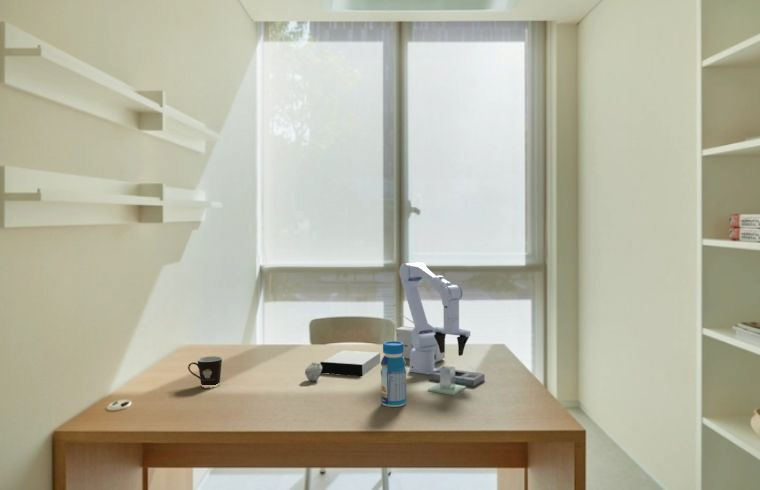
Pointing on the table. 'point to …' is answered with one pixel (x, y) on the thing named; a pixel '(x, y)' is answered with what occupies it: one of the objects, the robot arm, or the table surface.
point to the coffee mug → (208, 370)
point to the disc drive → (350, 363)
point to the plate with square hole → (460, 377)
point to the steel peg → (447, 377)
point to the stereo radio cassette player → (406, 339)
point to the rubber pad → (447, 391)
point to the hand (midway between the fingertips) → (451, 353)
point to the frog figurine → (313, 371)
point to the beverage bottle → (393, 375)
